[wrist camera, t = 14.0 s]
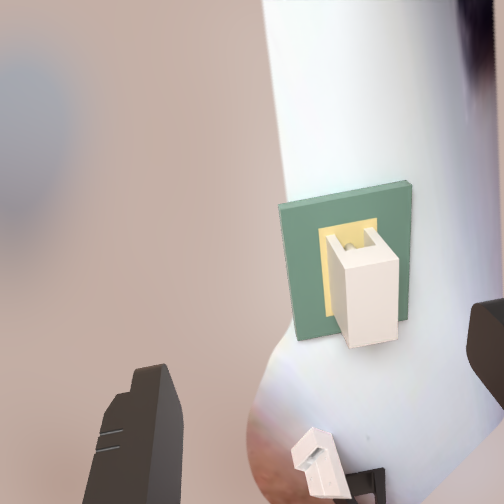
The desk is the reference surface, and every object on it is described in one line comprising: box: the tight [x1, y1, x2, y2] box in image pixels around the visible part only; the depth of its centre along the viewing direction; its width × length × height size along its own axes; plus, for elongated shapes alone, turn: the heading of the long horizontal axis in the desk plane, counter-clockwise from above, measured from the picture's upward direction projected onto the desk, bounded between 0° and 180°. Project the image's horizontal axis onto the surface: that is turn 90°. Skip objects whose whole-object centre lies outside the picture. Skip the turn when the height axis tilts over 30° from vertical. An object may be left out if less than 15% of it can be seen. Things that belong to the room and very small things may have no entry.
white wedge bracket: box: [291, 427, 352, 499], centre depth 61 cm, size 4×10×9 cm, turn 148°
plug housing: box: [326, 227, 399, 349], centre depth 45 cm, size 10×5×7 cm, turn 9°
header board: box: [278, 180, 412, 341], centre depth 47 cm, size 18×14×4 cm
